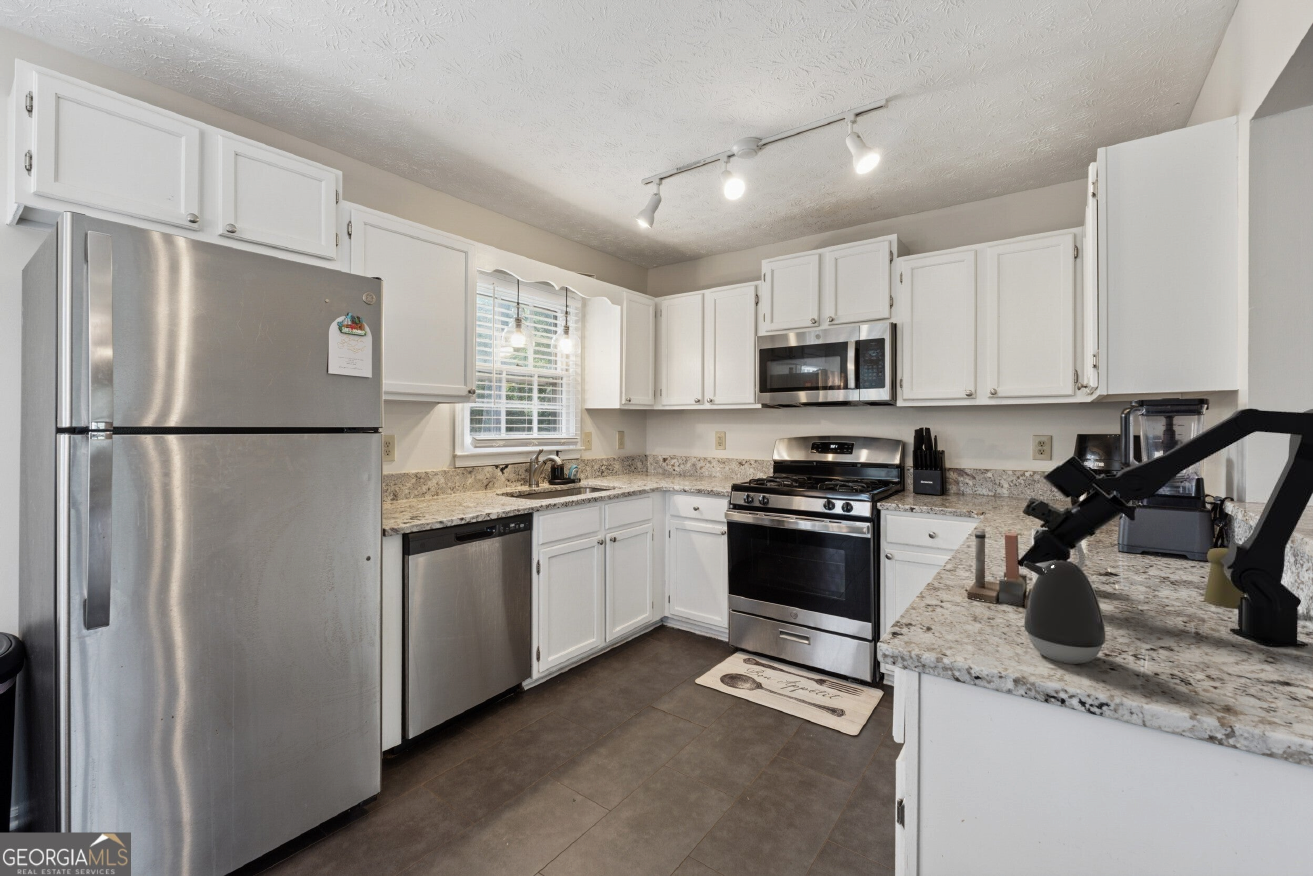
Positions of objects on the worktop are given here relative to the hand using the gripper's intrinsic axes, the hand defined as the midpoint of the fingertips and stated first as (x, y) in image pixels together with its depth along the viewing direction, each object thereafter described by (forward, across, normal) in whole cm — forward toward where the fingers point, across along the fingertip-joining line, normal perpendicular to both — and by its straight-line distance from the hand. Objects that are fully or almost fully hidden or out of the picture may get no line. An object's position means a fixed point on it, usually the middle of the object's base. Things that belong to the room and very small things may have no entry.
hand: (1019, 564), depth 114 cm
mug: (+1, -16, +9) cm, 19 cm away
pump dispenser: (-1, +29, +11) cm, 31 cm away
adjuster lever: (+5, 0, +4) cm, 7 cm away
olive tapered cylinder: (-18, -21, +28) cm, 40 cm away
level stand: (+6, 0, +4) cm, 7 cm away
